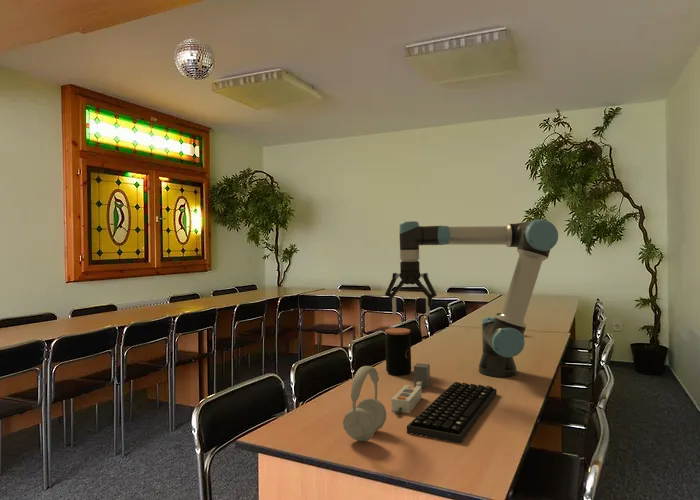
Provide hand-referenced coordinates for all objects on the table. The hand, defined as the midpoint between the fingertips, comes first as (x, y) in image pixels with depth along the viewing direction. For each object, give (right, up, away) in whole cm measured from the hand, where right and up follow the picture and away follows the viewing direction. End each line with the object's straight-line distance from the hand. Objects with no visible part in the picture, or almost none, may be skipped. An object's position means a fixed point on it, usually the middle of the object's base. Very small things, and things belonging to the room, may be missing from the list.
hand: (410, 314), depth 185 cm
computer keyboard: (+11, -28, -33) cm, 44 cm away
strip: (-5, -27, -26) cm, 38 cm away
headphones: (-19, -28, -50) cm, 60 cm away
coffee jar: (-3, -27, +14) cm, 30 cm away
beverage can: (+64, -24, +87) cm, 110 cm away
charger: (+3, -27, -7) cm, 28 cm away
